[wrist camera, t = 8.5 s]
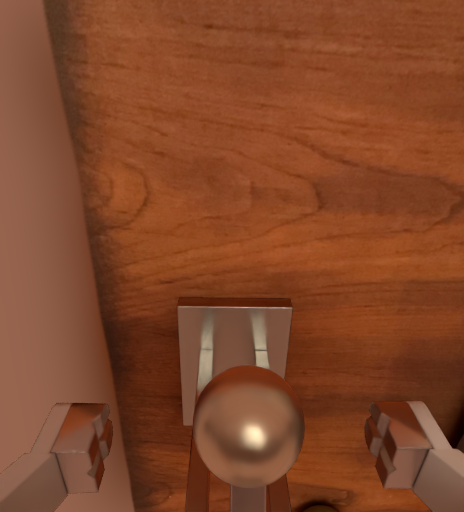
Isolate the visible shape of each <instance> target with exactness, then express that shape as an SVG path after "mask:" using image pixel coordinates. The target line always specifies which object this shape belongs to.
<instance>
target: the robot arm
mask: <svg viewBox="0 0 464 512" xmlns="http://www.w3.org/2000/svg"><path fill="white" fill-rule="evenodd" d="M369 411H370V413H371V416H370V417H369V418H368V419H367V420H366V423H365V439H366V443H367V446H368V449H369V452H370V453H371V454H373V455H374V456H375V457H376V458H377V461H376V465H375V467H376V470H377V472H378V475H379V477H380V480H381V482H382V485H383V488H405V489H412V491H413V492H414V493H415V494H416V495H417V496H418V497H419V498H420V499H421V500H422V501H423V502H424V503H425V504H426V505H427V506H428V508H429V509H430V510H431V511H432V512H464V453H462V452H461V451H460V450H458V449H452V447H451V445H450V444H449V442H448V441H447V439H446V437H445V436H444V434H443V432H442V431H441V429H440V428H439V426H438V424H437V423H436V421H435V419H434V418H433V416H432V415H431V413H430V411H429V410H428V408H427V406H426V405H425V404H424V403H423V402H422V401H375V402H372V403H371V405H370V408H369ZM109 413H110V410H109V406H108V404H97V403H56V404H55V405H54V406H53V407H52V409H51V411H50V413H49V415H48V417H47V419H46V421H45V423H44V425H43V427H42V429H41V431H40V433H39V435H38V437H37V439H36V441H35V443H34V445H33V447H32V449H31V451H30V453H25V454H23V455H22V456H21V457H20V458H18V459H17V460H16V461H15V462H13V463H12V464H11V465H10V466H9V467H7V468H6V469H5V470H4V471H3V472H2V473H0V512H54V511H55V510H56V509H57V508H58V506H59V505H60V504H61V503H62V502H63V501H64V499H65V498H66V497H67V496H68V495H67V494H71V493H93V492H98V490H99V487H100V484H101V480H102V477H103V473H104V470H105V469H104V464H103V460H104V459H105V458H106V457H107V456H108V455H109V452H110V448H111V444H112V436H113V426H112V422H111V421H110V420H109V419H108V416H109Z"/></svg>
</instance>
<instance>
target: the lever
mask: <svg viewBox="0 0 464 512" xmlns="http://www.w3.org/2000/svg"><path fill="white" fill-rule="evenodd" d="M304 431H305V426H304V416H303V411H302V408H301V405H300V402H299V400H298V398H297V396H296V394H295V392H294V391H293V389H292V388H291V387H290V385H289V384H288V383H287V382H286V381H285V380H284V379H283V378H282V377H280V376H279V375H278V374H276V373H275V372H273V371H271V370H269V369H266V368H263V367H260V366H255V365H240V366H235V367H232V368H229V369H227V370H225V371H223V372H221V373H219V374H218V375H216V376H215V377H214V378H213V379H212V380H211V381H210V382H209V383H208V384H207V385H206V386H205V388H204V389H203V391H202V392H201V394H200V396H199V398H198V400H197V403H196V406H195V410H194V414H193V436H194V441H195V445H196V448H197V451H198V453H199V455H200V457H201V459H202V460H203V462H204V464H205V465H206V466H207V467H208V469H209V470H210V471H211V472H212V473H213V474H214V475H215V476H217V477H218V478H220V479H221V480H223V481H224V482H226V483H228V484H230V512H266V485H269V484H271V483H273V482H275V481H277V480H278V479H279V478H281V477H282V476H283V475H284V474H285V473H287V472H288V470H289V469H290V468H291V467H292V466H293V464H294V463H295V461H296V460H297V458H298V455H299V453H300V451H301V448H302V444H303V440H304Z"/></svg>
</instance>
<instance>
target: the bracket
mask: <svg viewBox="0 0 464 512" xmlns="http://www.w3.org/2000/svg"><path fill="white" fill-rule="evenodd" d="M177 313H178V332H179V351H180V370H181V390H182V409H183V425H184V426H193V414H194V410H195V406H196V403H197V400H198V398H199V396H200V394H201V392H202V391H203V389H204V388H205V386H206V385H207V384H208V383H209V382H210V381H211V380H212V379H213V378H214V377H215V376H216V375H218V374H219V373H221V372H223V371H225V370H227V369H229V368H232V367H235V366H240V365H255V366H260V367H263V368H266V369H269V370H271V371H273V372H275V373H276V374H278V375H279V376H280V377H282V378H283V379H285V371H286V362H287V354H288V346H289V338H290V329H291V321H292V313H293V306H292V303H291V299H285V298H203V297H179V300H178V305H177ZM209 493H210V470H209V469H208V467H207V466H206V465H205V464H204V462H203V460H202V459H201V457H200V455H199V453H198V451H197V448H196V445H195V441H194V436H193V429H192V440H191V451H190V462H189V473H188V484H187V494H186V505H185V512H209ZM266 512H292V511H291V504H290V497H289V491H288V484H287V477H286V473H285V474H284V475H283V476H282V477H281V478H279V479H278V480H277V481H275V482H273V483H271V484H269V485H266Z"/></svg>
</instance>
